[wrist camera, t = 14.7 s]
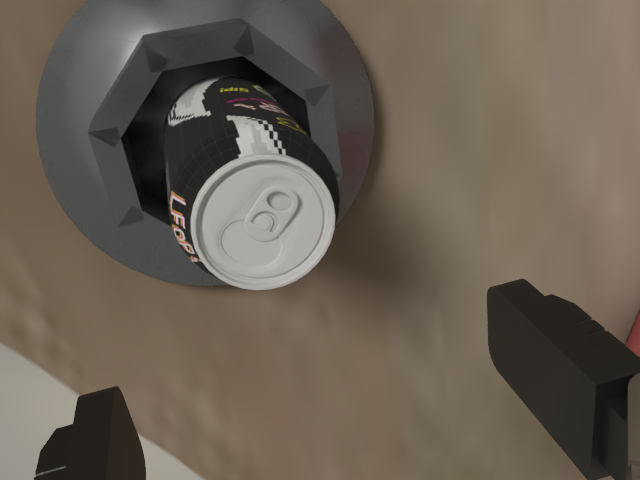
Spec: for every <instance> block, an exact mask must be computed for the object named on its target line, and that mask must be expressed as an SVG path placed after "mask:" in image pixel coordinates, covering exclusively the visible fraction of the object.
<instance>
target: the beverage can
mask: <svg viewBox="0 0 640 480" xmlns="http://www.w3.org/2000/svg"><path fill="white" fill-rule="evenodd" d="M163 141H164V155H165V168H166V182H167V195H168V208H169V218H170V222H171V225H172V229H173V233H174V235H175V237H176V239H177V241H178V243H179V245H180V247H181V248H182V250H183V251H184V252H185V253H186V255H187V256H188V257H189V258H190V260H191V261H192V262H194V263H195V264H196V265H197V266H198V267H200V268H201V269H202V270H203V271H205V272H206V273H208V274H210V275H212V276H214V277H216V278H218V279H220V280H222V281H224V282H226V283H228V284H230V285H233V286H236V287H239V288H242V289H249V290H269V289H274V288H278V287H283V286H285V285H288V284H290V283H292V282H295V281H297V280H298V279H300V278H301V277H303V276H304V275H306V274H307V273H308V272H310V271H311V270H312V269H313V268H314V267H315V266H316V265H317V264H318V263H319V261H320V260H321V259H322V257H323V256H324V255H325V253H326V251H327V249H328V247H329V245H330V243H331V240H332V237H333V233H334V230H335V226H336V223H337V219H338V215H339V204H340V195H339V187H338V181H337V178H336V176H335V173H334V170H333V167H332V165H331V163H330V162H329V160H328V158H327V157H326V155H325V153H324V152H323V151H322V150H321V149H320V148H319V147H318V145H317V144H316V143H315V142H314V141H313V140H312V139H311V138H310V137H309V136H308V135H307V134H306V132H305V131H304V130H303V129H302V128H301V127H300V126H299V125H298V124H297V123H296V122H295V121H294V119H293V118H292V117H291V116H290V115H289V114H288V113H287V112H286V111H285V110H284V109H283V108H282V107H281V105H280V104H279V103H278V102H277V101H276V100H275V99H274V98H273V97H272V96H271V95H270V94H269V93H268V91H267V90H266V89H264V88H263V87H261V86H260V85H259V84H257V83H256V82H254V81H251V80H249V79H247V78H245V77H240V76H236V75H225V74H219V75H213V76H208V77H205V78H202V79H200V80H197V81H195V82H194V83H192V84H191V85H189V86H188V87H186V88H185V89H184V90H183V91H182V92H181V93H180V94H179V95H178V96H177V97H176V98H175V100H174V101H173V103H172V104H171V106H170V108H169V110H168V113H167V115H166V118H165V122H164V128H163Z"/></svg>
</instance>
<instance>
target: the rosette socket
mask: <svg viewBox="0 0 640 480" xmlns="http://www.w3.org/2000/svg"><path fill="white" fill-rule="evenodd" d="M219 74H225V75H236V76H240V77H245V78H247V79H249V80H251V81H254V82H256V83H257V84H259V85H260V86H261V87H263V88H264V89H266V90H267V91H268V93H269V94H270V95H271V96H272V97H273V98H274V99H275V100H276V101H277V102H278V103H279V104H280V105H281V107H282V108H283V109H284V110H285V111H286V112H287V113H288V114H289V115H290V116H291V117H292V118H293V119H294V121H295V122H296V123H297V124H298V125H299V126H300V127H301V128H302V129H303V130H304V131H305V132H306V134H307V135H308V136H309V137H310V138H311V139H312V140H313V141H314V142H315V143H316V144H317V145H318V147H319V148H320V149H321V150H322V151H323V152H324V153H325V155H326V157H327V158H328V160H329V162H330V163H331V165H332V167H333V170H334V173H335V176H336V178H337V181H338V187H339V195H340V204H339V215H338V219H337V223H336V226H337V225H338V224H339V223H340V222H341V220H342V219H343V218H344V216H345V215H346V213H347V212H348V210H349V209H350V207H351V206H352V204H353V203H354V201H355V199H356V197H357V195H358V193H359V190H360V188H361V186H362V184H363V181H364V179H365V176H366V173H367V170H368V167H369V163H370V158H371V154H372V149H373V141H374V130H375V119H374V103H373V97H372V91H371V85H370V82H369V79H368V76H367V72H366V69H365V66H364V63H363V61H362V59H361V57H360V54H359V52H358V50H357V48H356V46H355V44H354V42H353V41H352V39H351V38H350V36H349V34H348V33H347V31H346V30H345V28H344V26H343V25H342V24H341V23H340V22H339V20H338V19H337V18H336V17H335V16H334V14H333V13H332V12H331V11H330V9H328V8H327V7H326V6H325V5H324V4H323V3H322V2H321V1H320V0H88V1H87V2H86V3H85V4H84V5H83V6H82V7H81V8H80V9H79V10H78V11H77V13H76V14H75V15H74V16H73V17H72V18H71V19H70V21H69V22H68V24H67V25H66V27H65V28H64V30H63V31H62V32H61V34H60V35H59V37H58V38H57V40H56V42H55V44H54V47H53V49H52V51H51V53H50V55H49V57H48V59H47V62H46V65H45V68H44V71H43V74H42V78H41V81H40V85H39V92H38V98H37V105H36V132H37V140H38V147H39V153H40V157H41V160H42V164H43V167H44V171H45V174H46V177H47V179H48V181H49V183H50V186H51V188H52V190H53V193H54V195H55V196H56V198H57V200H58V201H59V203H60V205H61V206H62V208H63V210H64V211H65V213H66V214H67V216H68V217H69V218H70V219H71V220H72V222H73V223H74V224H75V225H76V227H77V228H78V229H79V230H80V231H81V232H82V233H83V234H84V235H85V236H86V237H87V238H88V239H89V240H90V241H91V242H92V243H93V244H94V245H95V246H97V247H98V248H99V249H101V250H102V251H103V252H105V253H106V254H107V255H109V256H110V257H111V258H113V259H115V260H116V261H118V262H120V263H122V264H123V265H125V266H127V267H129V268H131V269H133V270H135V271H138V272H140V273H142V274H145V275H147V276H150V277H153V278H157V279H160V280H164V281H167V282H172V283H178V284H184V285H192V286H220V285H230V284H228V283H226V282H224V281H222V280H220V279H218V278H216V277H214V276H212V275H210V274H208V273H206V272H205V271H203V270H202V269H201V268H200V267H198V266H197V265H196V264H195V263H194V262H192V261H191V260H190V258H189V257H188V256H187V255H186V253H185V252H184V251H183V250H182V248H181V247H180V245H179V243H178V241H177V239H176V237H175V235H174V233H173V229H172V225H171V222H170V218H169V208H168V195H167V182H166V168H165V155H164V141H163V128H164V122H165V118H166V115H167V113H168V110H169V108H170V106H171V104H172V103H173V101H174V100H175V98H176V97H177V96H178V95H179V94H180V93H181V92H182V91H183V90H184V89H185V88H186V87H188V86H189V85H191V84H192V83H194V82H195V81H197V80H200V79H202V78H205V77H208V76H213V75H219ZM336 226H335V228H336Z"/></svg>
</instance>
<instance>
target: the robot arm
mask: <svg viewBox="0 0 640 480" xmlns="http://www.w3.org/2000/svg"><path fill="white" fill-rule="evenodd" d="M487 314H488V345H489V351H490V355H491V358H492V361H493V363H494V365H495V367H496V369H497V371H498V372H499V373H500V375H501V376H502V377H503V378H504V379H505V381H506V382H507V383H508V384H509V385H510V387H511V388H512V389H513V390H514V391H515V393H516V394H517V395H518V396H519V397H520V399H521V400H522V401H523V402H524V404H525V405H526V406H527V407H528V408H529V410H530V411H531V412H532V413H533V414H534V416H535V417H536V418H537V419H538V420H539V422H540V423H541V424H542V425H543V427H544V428H545V429H546V430H547V431H548V433H549V434H550V435H551V436H552V437H553V439H554V440H555V441H556V442H557V443H558V445H559V446H560V447H561V448H562V450H563V451H564V452H565V453H566V454H567V456H568V457H569V458H570V459H571V460H572V462H573V463H574V464H575V465H576V466H577V468H578V469H579V470H580V471H581V472H582V474H583V475H584V476H585V477H586V479H587V480H597V479H600V478H603V477H606V476H609V475H611V476H612V477H613V478H614V479H615V480H640V357H639V356H637V355H636V354H635V353H634V352H633V351H631V350H630V349H629V348H628V347H627V346H625V345H624V344H623V343H622V342H620V341H619V340H618V339H617V338H616V337H614V336H613V335H612V334H611V333H610V332H608V331H607V332H606V331H605V329H604V327H602V326H601V325H600V324H599V323H597V322H596V321H595V320H592V319H591V317H590V316H589V315H588V314H587V313H585V312H584V311H583V310H582V309H581V308H579V307H578V306H577V305H576V304H574V303H572V302H569V301H567V300H565V299H562V298H560V297H557V296H555V295H552V294H551V295H548V296H544V295H543V294H542V293H540V292H539V291H538V290H537V289H536V288H535V287H533V286H532V285H531V284H530V283H529V282H528V281H526V280H524V279H519V280H516V281H512V282H508V283H504V284H501V285H497V286H493V287H490V288H489V290H488V292H487ZM34 480H146V468H145V459H144V454H143V450H142V446H141V442H140V440H139V437H138V434H137V432H136V429H135V426H134V424H133V421H132V418H131V416H130V413H129V410H128V408H127V405H126V402H125V400H124V397H123V394H122V392H121V390H120V388H119V387H118V386H115V387H111V388H108V389H104V390H100V391H96V392H93V393H89V394H85V395H81V396H79V397H78V400H77V405H76V411H75V417H74V422H73V424H72V425H68V426H65V427H61V428H57V429H56V430H55V431H54V433H53V434H52V435H51V437H50V438H49V440H48V441H47V443H46V444H45V445H44V447H43V448H42V450H41V451H40V456H39V460H38V464H37V469H36V477H35V478H34Z"/></svg>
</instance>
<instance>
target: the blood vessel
mask: <svg viewBox="0 0 640 480" xmlns="http://www.w3.org/2000/svg"><path fill="white" fill-rule="evenodd" d="M625 346H627V347H628V348H629V349H630V350H631V351H633V352H634V353H635V354H636V355H637V356H639V357H640V311H639V313H638V316H637V318H636V321H635V323H634V326H633V328H632V331H631V333H630V335H629V338H628V340H627V343H626V345H625Z"/></svg>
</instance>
